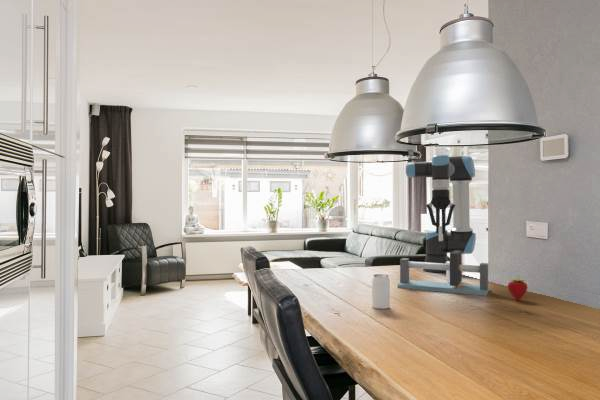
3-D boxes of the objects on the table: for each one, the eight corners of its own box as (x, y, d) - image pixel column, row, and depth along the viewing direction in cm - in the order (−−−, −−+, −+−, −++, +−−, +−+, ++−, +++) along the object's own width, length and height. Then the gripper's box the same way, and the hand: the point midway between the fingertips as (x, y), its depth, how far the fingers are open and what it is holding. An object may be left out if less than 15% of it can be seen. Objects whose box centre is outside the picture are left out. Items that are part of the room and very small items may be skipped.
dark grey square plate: (449, 285, 198) (449, 253, 198) (454, 280, 210) (454, 250, 210) (457, 286, 196) (457, 253, 196) (461, 281, 209) (461, 250, 209)
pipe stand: (397, 287, 208) (397, 260, 208) (405, 282, 221) (405, 257, 221) (486, 295, 191) (486, 266, 191) (489, 289, 203) (489, 262, 203)
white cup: (465, 284, 218) (465, 263, 218) (448, 283, 218) (448, 263, 218) (459, 281, 225) (459, 261, 225) (443, 281, 226) (443, 261, 226)
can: (392, 308, 167) (392, 276, 167) (376, 309, 166) (376, 277, 166) (385, 305, 174) (385, 273, 174) (369, 305, 172) (369, 274, 172)
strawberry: (504, 298, 185) (504, 274, 185) (522, 298, 186) (522, 274, 186) (512, 301, 179) (512, 276, 179) (530, 301, 180) (530, 276, 180)
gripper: (424, 189, 206) (424, 240, 206) (454, 188, 200) (454, 242, 200) (427, 189, 213) (428, 239, 213) (456, 189, 207) (457, 240, 207)
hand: (440, 240), depth 207 cm, fingers closed
